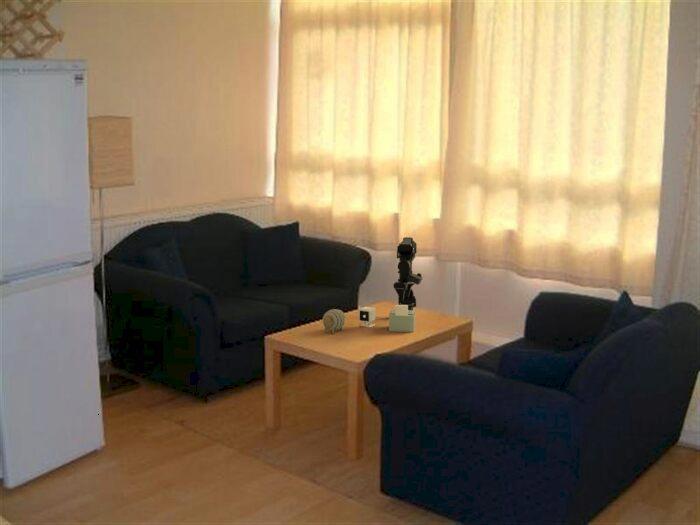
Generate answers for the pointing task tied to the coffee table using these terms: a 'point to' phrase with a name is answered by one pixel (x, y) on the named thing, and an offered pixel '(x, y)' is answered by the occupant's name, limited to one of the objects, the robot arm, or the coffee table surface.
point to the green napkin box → (410, 312)
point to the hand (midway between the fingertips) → (404, 299)
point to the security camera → (367, 316)
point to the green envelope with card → (401, 320)
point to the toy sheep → (333, 320)
